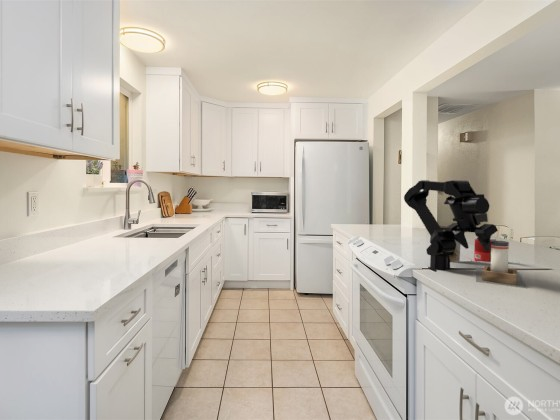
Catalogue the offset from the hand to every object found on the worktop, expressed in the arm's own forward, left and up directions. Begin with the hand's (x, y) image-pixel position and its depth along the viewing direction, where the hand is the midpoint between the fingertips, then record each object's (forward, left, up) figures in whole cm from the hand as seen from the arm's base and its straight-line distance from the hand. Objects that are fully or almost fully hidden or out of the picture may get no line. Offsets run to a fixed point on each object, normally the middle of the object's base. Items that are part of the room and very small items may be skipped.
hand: (477, 249), depth 117 cm
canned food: (+21, +21, -10) cm, 31 cm away
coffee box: (+4, +22, -10) cm, 24 cm away
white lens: (+1, -9, -9) cm, 13 cm away
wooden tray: (+1, -9, -9) cm, 13 cm away
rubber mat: (+5, -5, -10) cm, 12 cm away
